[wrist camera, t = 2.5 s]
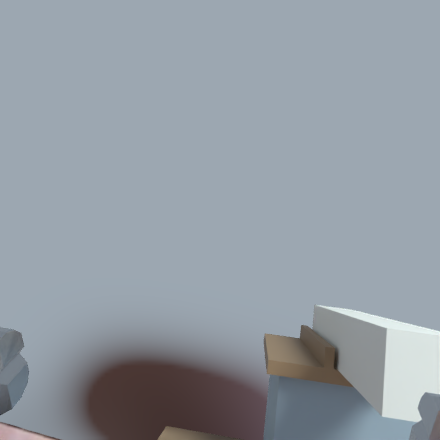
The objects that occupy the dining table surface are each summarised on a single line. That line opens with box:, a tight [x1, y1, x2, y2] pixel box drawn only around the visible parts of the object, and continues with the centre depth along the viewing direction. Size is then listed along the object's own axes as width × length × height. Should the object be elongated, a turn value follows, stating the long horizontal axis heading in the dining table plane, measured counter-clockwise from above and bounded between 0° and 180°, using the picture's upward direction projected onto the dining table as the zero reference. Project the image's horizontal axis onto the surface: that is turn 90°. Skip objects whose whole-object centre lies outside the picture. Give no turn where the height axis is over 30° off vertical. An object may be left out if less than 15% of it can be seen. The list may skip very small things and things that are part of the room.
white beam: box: [313, 305, 440, 422], centre depth 30 cm, size 24×4×4 cm, turn 175°
